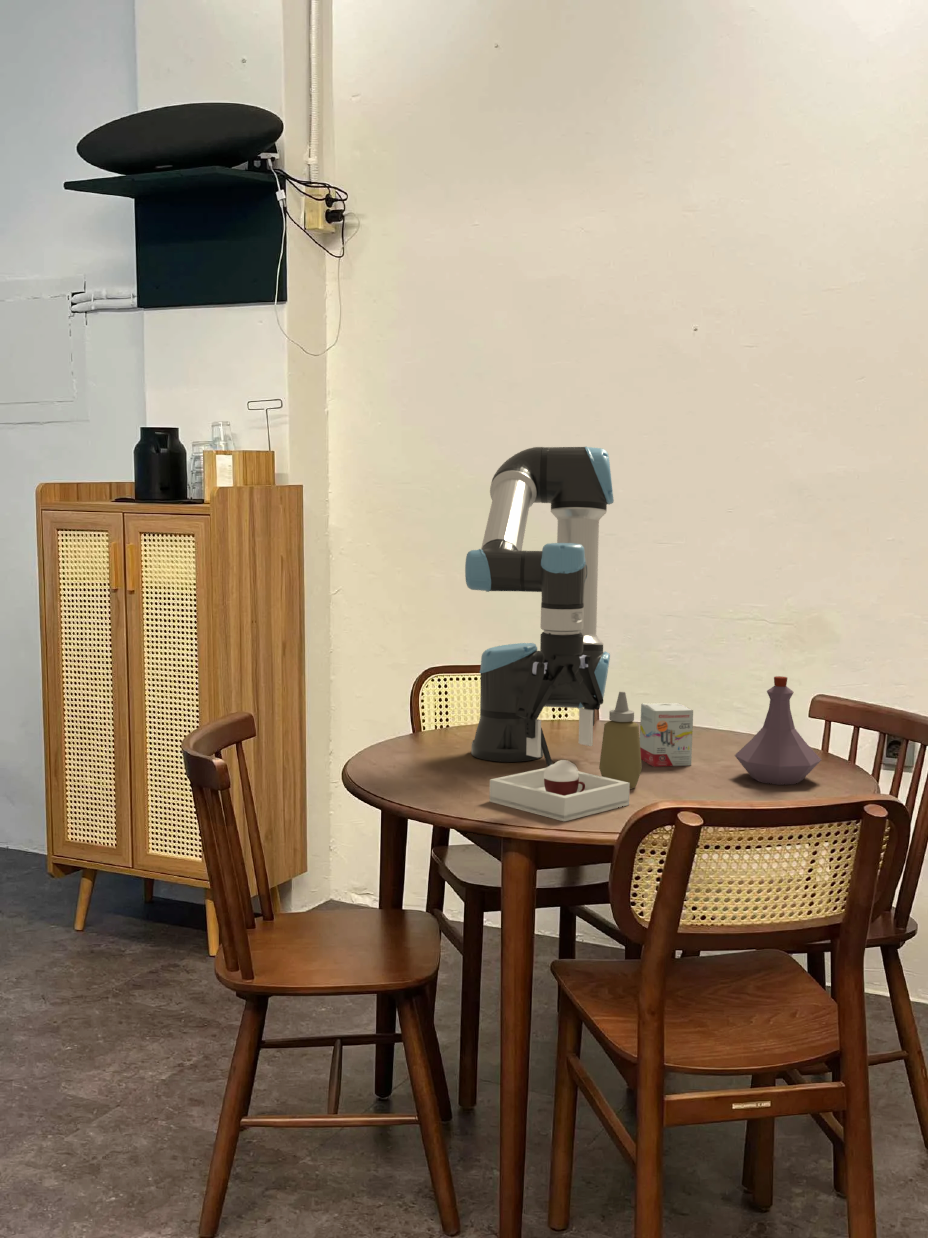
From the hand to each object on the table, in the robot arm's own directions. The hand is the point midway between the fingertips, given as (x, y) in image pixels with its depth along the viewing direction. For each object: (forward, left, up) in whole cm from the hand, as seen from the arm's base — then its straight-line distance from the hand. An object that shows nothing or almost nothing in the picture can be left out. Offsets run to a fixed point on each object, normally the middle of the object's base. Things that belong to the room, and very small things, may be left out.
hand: (560, 750), depth 221 cm
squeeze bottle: (-18, -1, -10) cm, 20 cm away
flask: (-46, +15, -10) cm, 49 cm away
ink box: (-42, -9, -10) cm, 44 cm away
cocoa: (0, 0, -9) cm, 9 cm away
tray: (0, 0, -10) cm, 10 cm away
